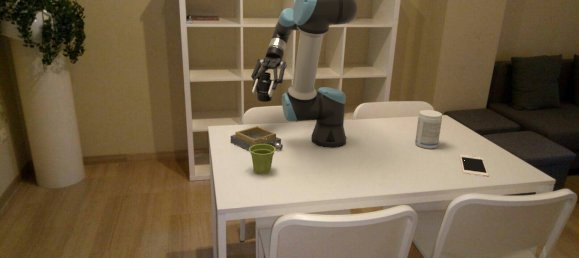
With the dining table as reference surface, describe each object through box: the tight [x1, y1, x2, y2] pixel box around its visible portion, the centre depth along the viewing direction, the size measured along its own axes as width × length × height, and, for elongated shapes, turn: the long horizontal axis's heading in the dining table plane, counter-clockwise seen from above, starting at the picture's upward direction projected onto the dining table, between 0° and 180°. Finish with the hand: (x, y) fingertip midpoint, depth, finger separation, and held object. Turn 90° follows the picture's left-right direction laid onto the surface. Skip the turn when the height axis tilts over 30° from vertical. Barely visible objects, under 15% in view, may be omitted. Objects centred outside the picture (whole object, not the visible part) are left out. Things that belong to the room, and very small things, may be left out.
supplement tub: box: [414, 109, 443, 150], centre depth 186 cm, size 10×10×15 cm
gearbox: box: [230, 125, 283, 152], centre depth 181 cm, size 20×14×5 cm
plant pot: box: [248, 144, 276, 175], centre depth 157 cm, size 9×9×9 cm
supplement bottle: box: [256, 71, 273, 103], centre depth 190 cm, size 7×7×12 cm
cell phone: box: [459, 153, 489, 177], centre depth 170 cm, size 9×18×1 cm, turn 164°
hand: (261, 94), depth 188 cm, fingers closed on supplement bottle, 7 cm apart
